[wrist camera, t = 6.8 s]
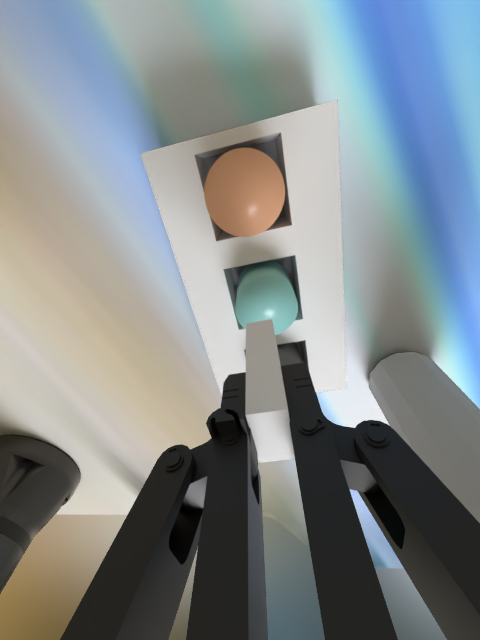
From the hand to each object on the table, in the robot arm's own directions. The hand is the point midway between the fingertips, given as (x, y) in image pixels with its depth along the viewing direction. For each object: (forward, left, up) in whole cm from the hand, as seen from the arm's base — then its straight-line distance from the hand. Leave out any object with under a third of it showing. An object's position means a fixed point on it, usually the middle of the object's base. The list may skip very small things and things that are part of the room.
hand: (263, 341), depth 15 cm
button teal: (0, 0, -9) cm, 9 cm away
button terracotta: (0, +8, -8) cm, 11 cm away
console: (0, 0, -11) cm, 11 cm away
